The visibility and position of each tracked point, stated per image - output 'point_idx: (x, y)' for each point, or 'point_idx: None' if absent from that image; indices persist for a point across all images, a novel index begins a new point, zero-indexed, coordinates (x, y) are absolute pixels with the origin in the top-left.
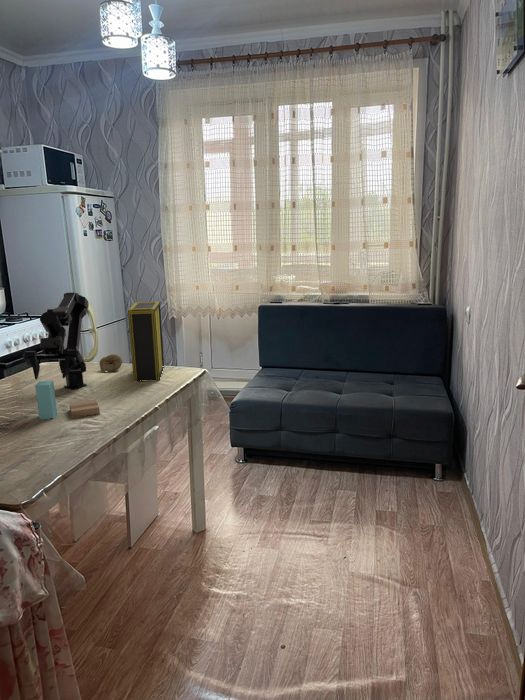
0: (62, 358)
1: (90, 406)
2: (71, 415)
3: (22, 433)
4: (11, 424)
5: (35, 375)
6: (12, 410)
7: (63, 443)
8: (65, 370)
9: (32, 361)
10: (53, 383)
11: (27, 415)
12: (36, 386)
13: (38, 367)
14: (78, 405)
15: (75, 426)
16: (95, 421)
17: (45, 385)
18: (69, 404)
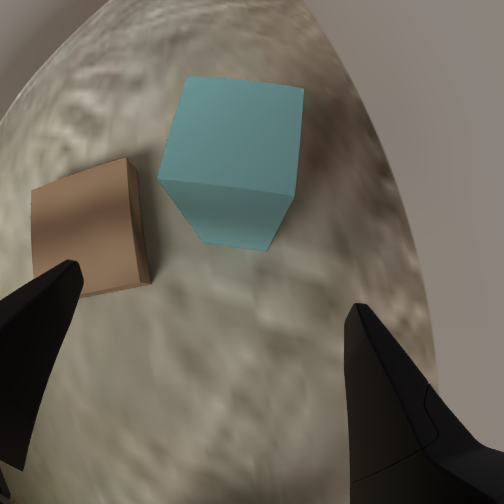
0: (4, 501)
1: (54, 205)
2: (138, 198)
3: (302, 77)
4: (373, 169)
5: (371, 321)
6: (412, 348)
7: (171, 12)
8: (16, 292)
9: (486, 461)
10: (164, 185)
11: (340, 263)
12: (292, 92)
13: (367, 486)
14: (96, 233)
15: (130, 96)
16: (69, 130)
17: (218, 81)
18: (136, 262)
